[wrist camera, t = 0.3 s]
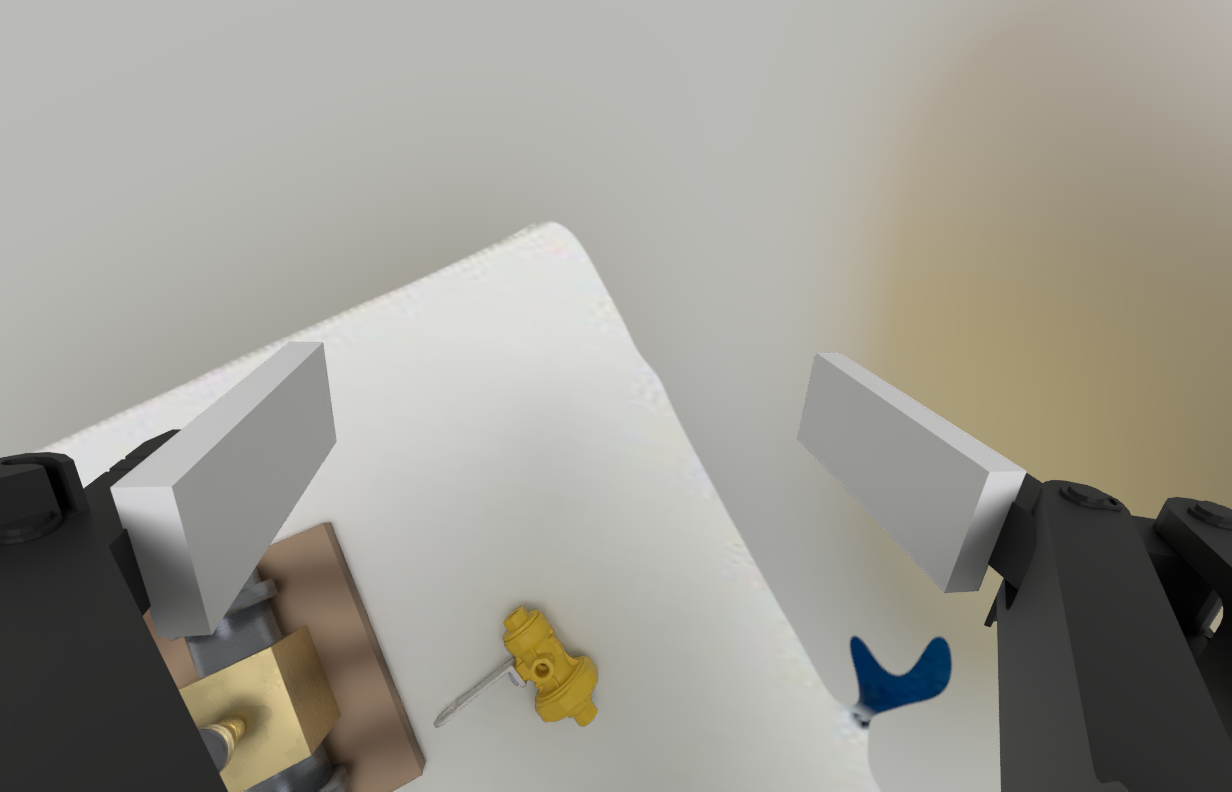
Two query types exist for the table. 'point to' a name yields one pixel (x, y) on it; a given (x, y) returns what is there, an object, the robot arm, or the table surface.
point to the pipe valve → (265, 698)
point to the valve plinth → (332, 659)
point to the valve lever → (218, 744)
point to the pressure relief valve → (541, 671)
